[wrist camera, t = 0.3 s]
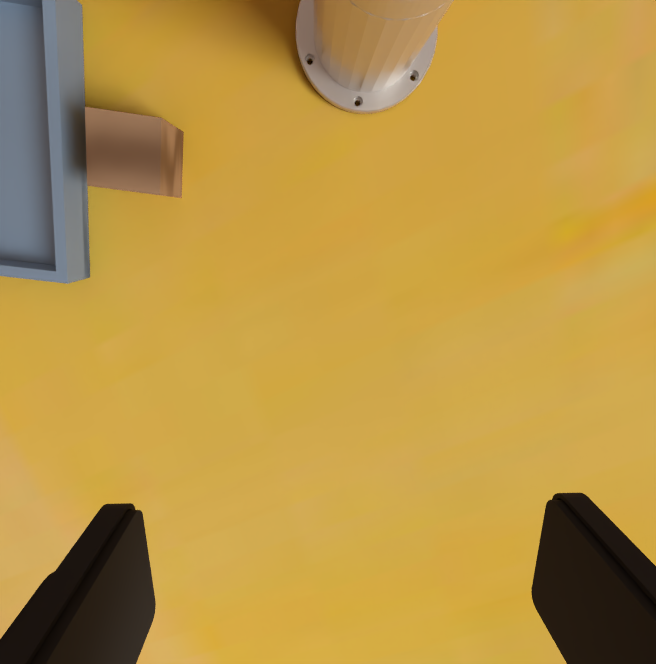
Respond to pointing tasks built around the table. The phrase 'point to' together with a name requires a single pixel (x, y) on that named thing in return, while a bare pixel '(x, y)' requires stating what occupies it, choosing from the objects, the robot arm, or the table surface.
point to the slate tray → (43, 142)
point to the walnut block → (133, 152)
